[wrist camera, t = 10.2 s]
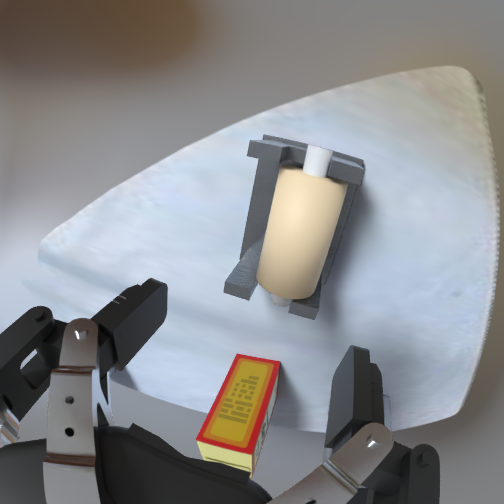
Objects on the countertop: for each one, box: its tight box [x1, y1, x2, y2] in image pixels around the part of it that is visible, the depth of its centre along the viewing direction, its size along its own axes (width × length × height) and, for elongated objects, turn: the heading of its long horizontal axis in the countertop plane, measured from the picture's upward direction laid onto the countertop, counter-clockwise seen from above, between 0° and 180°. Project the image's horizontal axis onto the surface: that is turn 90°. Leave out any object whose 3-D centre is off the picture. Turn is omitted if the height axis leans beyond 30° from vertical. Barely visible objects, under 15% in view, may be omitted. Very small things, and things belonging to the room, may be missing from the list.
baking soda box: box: [196, 354, 280, 478], centre depth 33 cm, size 10×6×16 cm
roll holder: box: [224, 135, 365, 320], centre depth 25 cm, size 10×14×8 cm
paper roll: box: [256, 145, 348, 307], centre depth 23 cm, size 14×6×6 cm
